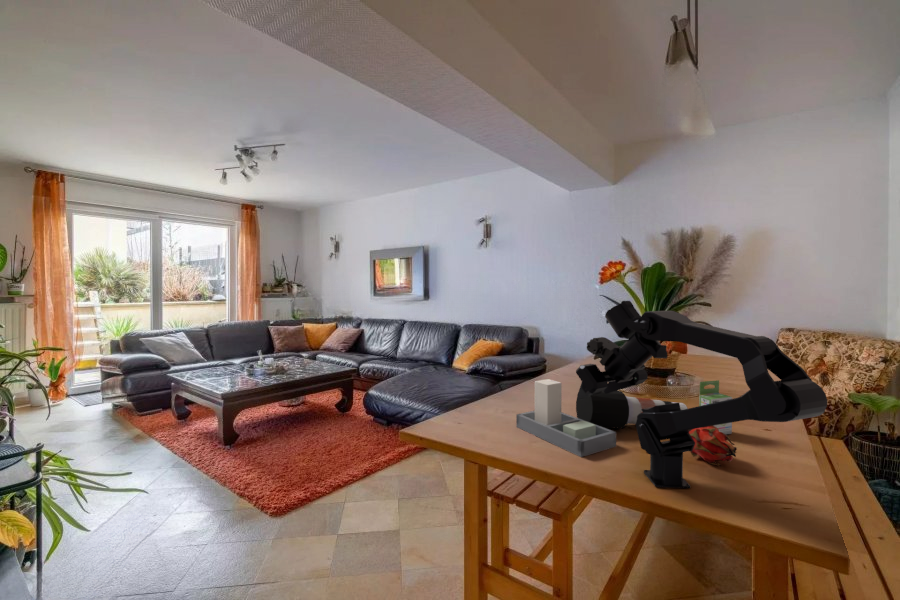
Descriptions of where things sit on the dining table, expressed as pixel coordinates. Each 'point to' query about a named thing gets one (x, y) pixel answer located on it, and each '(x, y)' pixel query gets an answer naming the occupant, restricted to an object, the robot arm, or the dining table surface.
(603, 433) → the tray
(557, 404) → the cream block
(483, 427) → the dining table surface
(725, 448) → the dragon fruit
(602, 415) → the black and white bottle
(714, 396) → the ink box
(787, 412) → the robot arm
